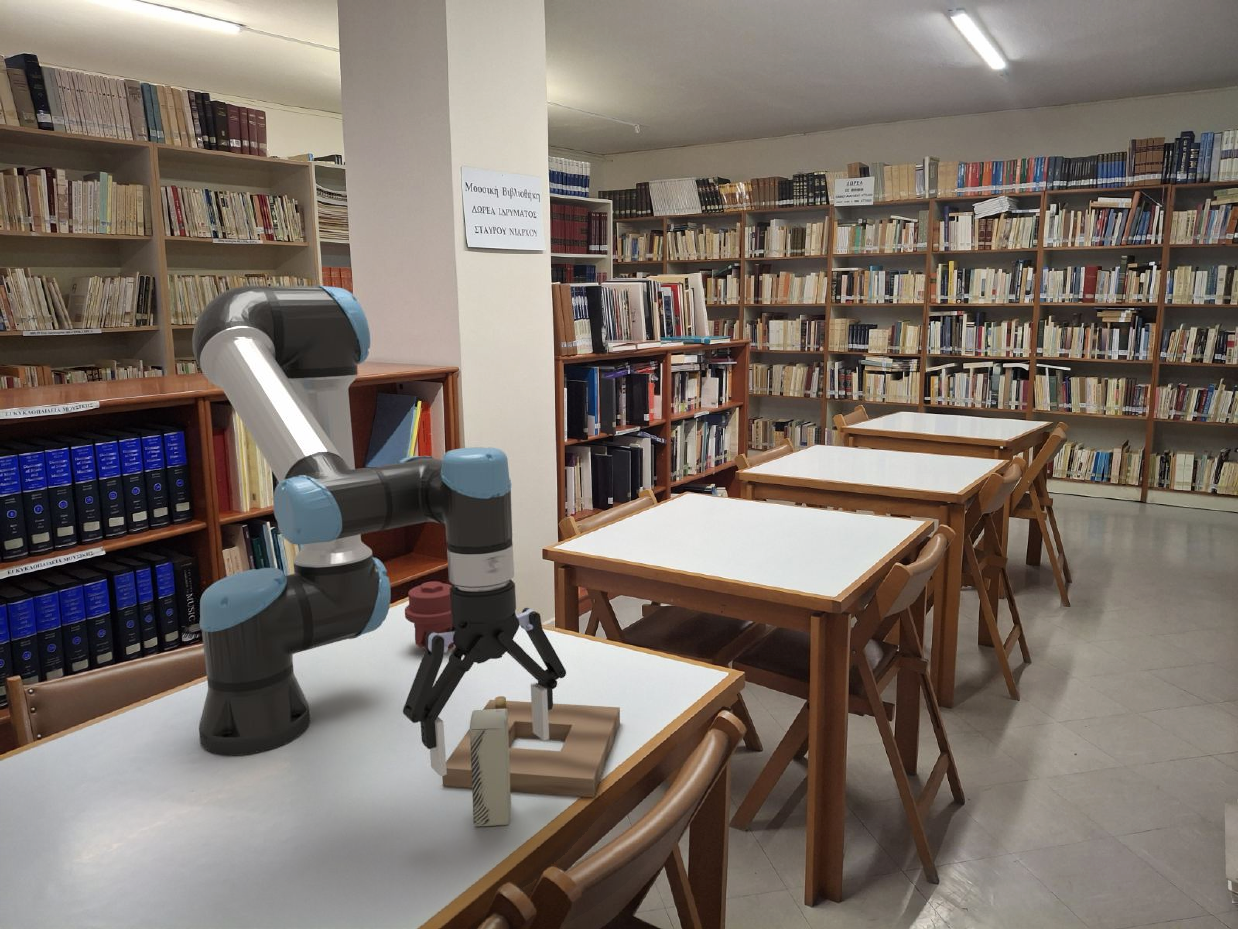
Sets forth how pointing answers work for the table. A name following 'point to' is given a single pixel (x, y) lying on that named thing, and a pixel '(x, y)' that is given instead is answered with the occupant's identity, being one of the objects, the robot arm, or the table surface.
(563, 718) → the socket board
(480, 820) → the box
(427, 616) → the mechanical component
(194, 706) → the table surface
